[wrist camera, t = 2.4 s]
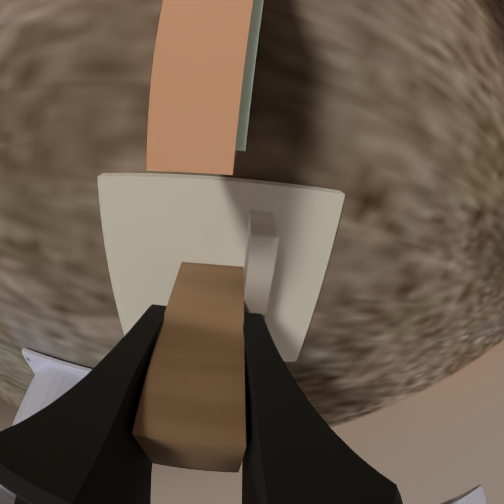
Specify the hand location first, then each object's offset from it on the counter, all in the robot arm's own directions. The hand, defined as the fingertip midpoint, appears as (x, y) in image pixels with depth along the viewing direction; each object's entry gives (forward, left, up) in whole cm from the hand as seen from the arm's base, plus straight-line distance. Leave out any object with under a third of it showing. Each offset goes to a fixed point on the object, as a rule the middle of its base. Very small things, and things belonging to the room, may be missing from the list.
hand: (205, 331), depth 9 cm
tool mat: (0, 0, -3) cm, 3 cm away
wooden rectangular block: (0, 0, -2) cm, 2 cm away
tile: (+10, 0, -3) cm, 10 cm away
